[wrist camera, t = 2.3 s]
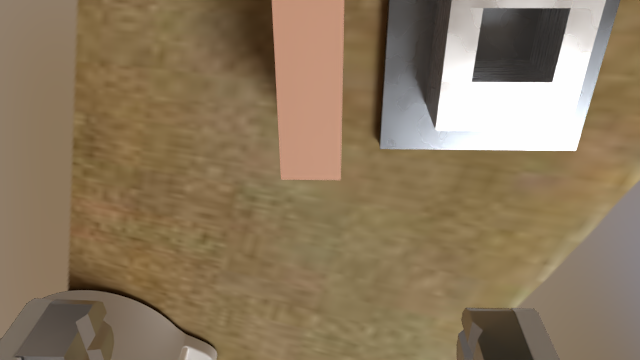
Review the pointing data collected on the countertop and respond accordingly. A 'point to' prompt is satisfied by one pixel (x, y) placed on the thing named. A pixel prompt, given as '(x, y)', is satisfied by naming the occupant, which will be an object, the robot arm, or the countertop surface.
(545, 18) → the grey slotted holder
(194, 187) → the countertop surface
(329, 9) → the clip
